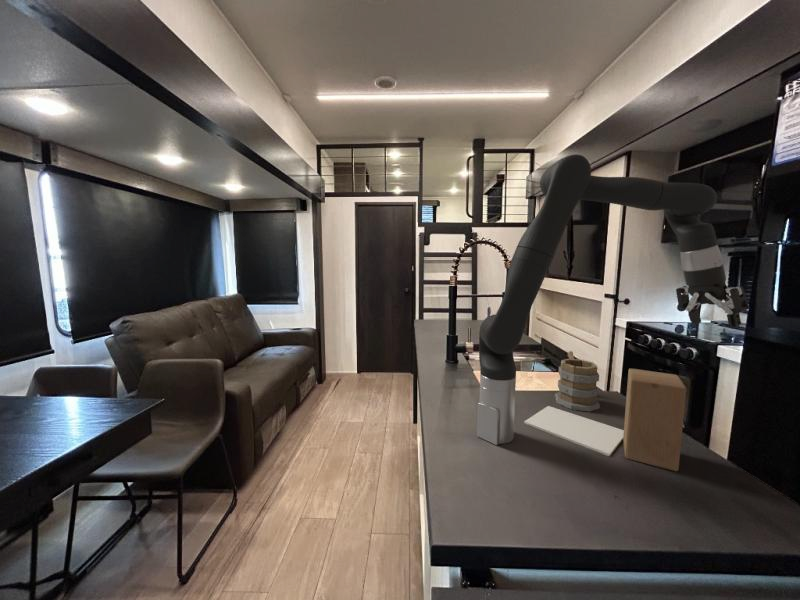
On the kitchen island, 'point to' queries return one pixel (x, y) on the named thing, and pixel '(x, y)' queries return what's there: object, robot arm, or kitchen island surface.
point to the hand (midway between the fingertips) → (714, 325)
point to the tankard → (578, 384)
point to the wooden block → (654, 418)
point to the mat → (577, 429)
